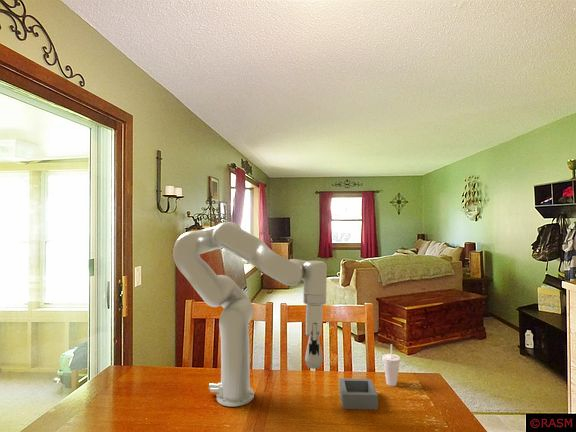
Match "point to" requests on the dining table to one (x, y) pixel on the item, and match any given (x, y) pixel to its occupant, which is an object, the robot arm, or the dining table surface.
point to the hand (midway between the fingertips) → (313, 353)
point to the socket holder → (358, 394)
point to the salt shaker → (313, 357)
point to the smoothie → (391, 368)
